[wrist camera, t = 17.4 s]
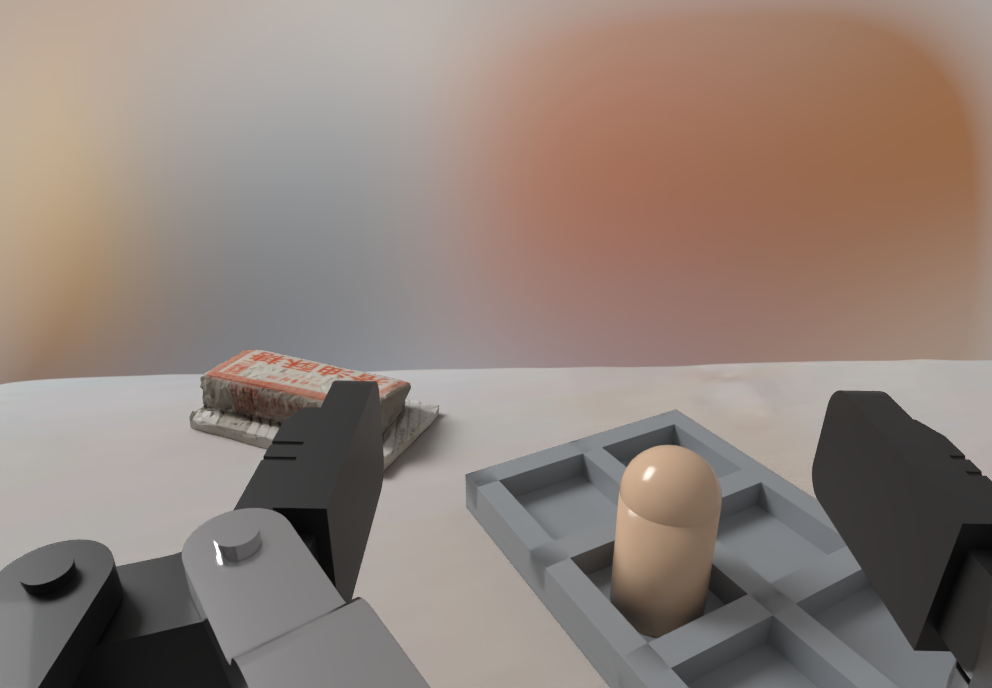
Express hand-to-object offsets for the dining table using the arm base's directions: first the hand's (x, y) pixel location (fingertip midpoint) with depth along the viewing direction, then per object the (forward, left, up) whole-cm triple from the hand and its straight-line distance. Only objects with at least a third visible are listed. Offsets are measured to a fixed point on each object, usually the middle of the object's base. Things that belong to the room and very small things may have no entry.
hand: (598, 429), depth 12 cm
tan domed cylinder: (-12, +14, -22) cm, 29 cm away
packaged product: (-41, +3, -23) cm, 48 cm away
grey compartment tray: (-12, +18, -23) cm, 32 cm away
